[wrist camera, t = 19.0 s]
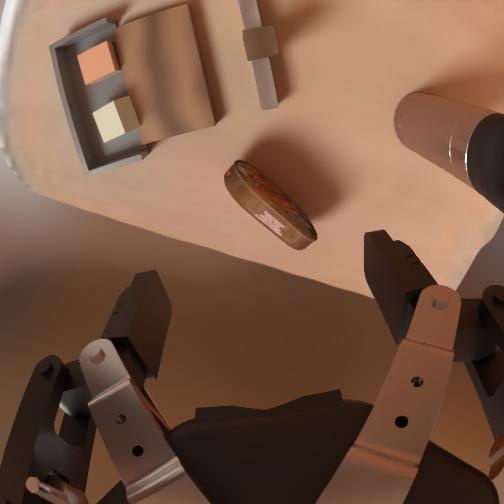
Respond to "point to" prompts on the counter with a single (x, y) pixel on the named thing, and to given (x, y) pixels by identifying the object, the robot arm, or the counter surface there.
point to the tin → (269, 205)
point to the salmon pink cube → (99, 62)
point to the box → (92, 102)
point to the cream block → (116, 118)
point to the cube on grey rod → (259, 51)
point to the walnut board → (165, 74)
